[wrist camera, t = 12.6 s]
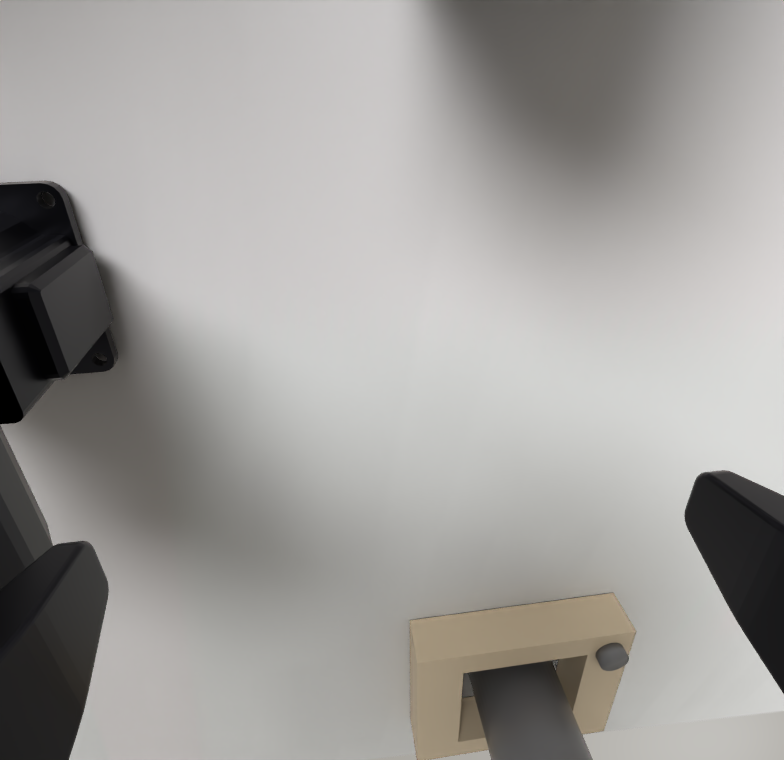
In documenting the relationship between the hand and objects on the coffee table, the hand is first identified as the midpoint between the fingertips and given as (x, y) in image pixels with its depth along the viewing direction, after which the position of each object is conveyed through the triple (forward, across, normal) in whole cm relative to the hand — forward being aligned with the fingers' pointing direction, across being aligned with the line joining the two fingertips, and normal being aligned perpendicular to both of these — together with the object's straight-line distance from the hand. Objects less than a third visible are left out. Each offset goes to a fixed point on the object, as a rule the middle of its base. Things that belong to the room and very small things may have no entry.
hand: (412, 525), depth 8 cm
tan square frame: (+13, -8, +26) cm, 30 cm away
